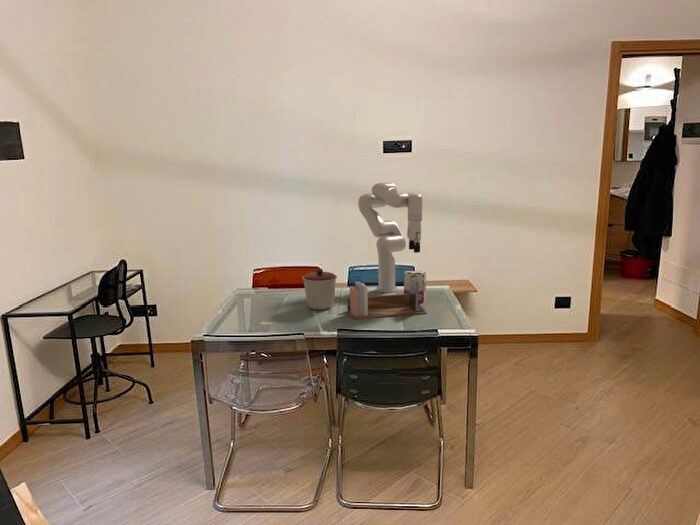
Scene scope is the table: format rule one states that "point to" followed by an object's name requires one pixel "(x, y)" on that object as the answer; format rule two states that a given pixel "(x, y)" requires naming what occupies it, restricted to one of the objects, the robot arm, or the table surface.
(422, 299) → the candy bar box
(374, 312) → the shelf
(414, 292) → the bookend
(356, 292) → the books
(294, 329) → the table surface
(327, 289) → the canister
